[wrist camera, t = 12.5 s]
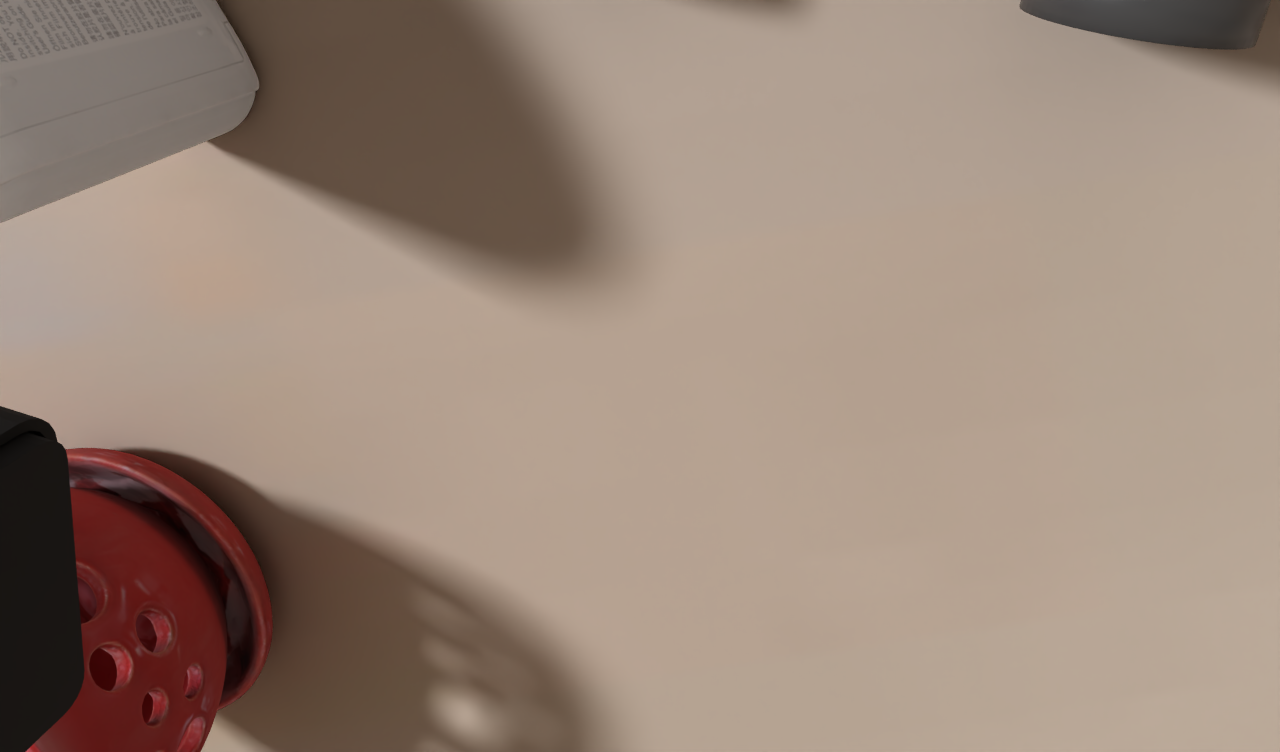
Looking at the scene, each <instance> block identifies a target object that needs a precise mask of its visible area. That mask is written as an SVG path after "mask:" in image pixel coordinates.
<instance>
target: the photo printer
mask: <svg viewBox="0 0 1280 752" xmlns="http://www.w3.org/2000/svg"><path fill="white" fill-rule="evenodd" d="M258 89H259V81H258V77H257V75H256V72H255V70H254V68H253V66H252V63H251V61H250V59H249V57H248V55H247V53H246V51H245V49H244V47H243V45H242V43H241V41H240V40H239V38H238V36H237V35H236V33H235V31H234V29H233V28H232V26H231V25H230V23H229V22H228V20H227V18H226V16H225V15H224V13H223V12H222V10H221V8H220V7H219V5H218V3H217V1H216V0H0V223H1V222H4V221H7V220H9V219H12V218H14V217H17V216H19V215H22V214H24V213H27V212H29V211H32V210H34V209H37V208H39V207H42V206H44V205H47V204H49V203H52V202H55V201H57V200H60V199H62V198H65V197H67V196H70V195H72V194H75V193H77V192H80V191H82V190H85V189H87V188H90V187H92V186H95V185H98V184H100V183H103V182H105V181H108V180H110V179H113V178H115V177H118V176H120V175H123V174H125V173H128V172H130V171H133V170H135V169H138V168H140V167H143V166H146V165H148V164H151V163H153V162H156V161H158V160H161V159H163V158H166V157H168V156H171V155H173V154H175V153H178V152H180V151H183V150H185V149H188V148H190V147H193V146H195V145H198V144H200V143H203V142H205V141H208V140H210V139H213V138H215V137H218V136H220V135H223V134H225V133H227V132H229V131H231V130H233V129H234V128H235V127H237V126H238V125H239V124H240V123H241V122H242V121H243V120H244V119H245V118H246V116H247V115H248V113H249V111H250V109H251V107H252V105H253V102H254V98H255V91H257V90H258Z"/></svg>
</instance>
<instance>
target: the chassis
mask: <svg viewBox="0 0 1280 752" xmlns="http://www.w3.org/2000/svg"><path fill="white" fill-rule="evenodd" d="M1270 1H1271V0H1021V2H1020V8H1021V9H1022V10H1023V11H1025V12H1026V13H1029V14H1031V15H1033V16H1036V17H1038V18H1041V19H1045V20H1048V21H1051V22H1054V23H1058V24H1062V25H1066V26H1069V27H1073V28H1078V29H1082V30H1086V31H1091V32H1096V33H1101V34H1106V35H1111V36H1116V37H1122V38H1127V39H1133V40H1140V41H1146V42H1153V43H1160V44H1167V45H1175V46H1184V47H1194V48H1207V49H1247V48H1251V47H1254V46H1255V44H1256V41H1257V39H1258V36H1259V33H1260V30H1261V27H1262V24H1263V21H1264V18H1265V15H1266V12H1267V10H1268V7H1269V4H1270Z"/></svg>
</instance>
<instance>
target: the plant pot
mask: <svg viewBox="0 0 1280 752" xmlns="http://www.w3.org/2000/svg"><path fill="white" fill-rule="evenodd" d="M66 453H67V457H68V467H69V479H70V492H71V504H72V517H73V530H74V542H75V555H76V568H77V580H78V593H79V605H80V618H81V631H82V643H83V656H84V668H85V672H84V681H83V684H82V688H81V690H80V692H79V695H78V697H77V699H76V700H75V702H74V703H73V705H72V706H71V708H70V709H69V710H68V711H67V712H66V713H65V715H64V716H63V717H61V718H60V719H59V720H58V721H57V722H56V723H55V724H54V725H53V726H52V727H51V728H50V729H49V730H48V731H47V732H46V733H45V734H44V735H42V736H41V737H40V738H39V739H38V740H37V741H36V742H35V743H34V744H33V745H32V746H31V747H30V748H29V749H28V750H27V751H26V752H200V751H201V749H202V747H203V745H204V743H205V741H206V739H207V736H208V734H209V732H210V729H211V727H212V724H213V721H214V718H215V715H216V712H217V710H220V709H222V708H224V707H226V706H227V705H229V704H231V703H233V702H234V701H236V700H237V699H239V698H240V697H241V696H242V695H243V694H245V693H246V692H247V691H248V690H249V689H250V687H251V686H252V685H253V684H254V682H255V681H256V679H257V678H258V676H259V674H260V672H261V670H262V668H263V666H264V664H265V662H266V659H267V656H268V653H269V650H270V645H271V640H272V629H273V622H272V609H271V602H270V598H269V593H268V589H267V586H266V582H265V580H264V577H263V574H262V571H261V569H260V566H259V564H258V562H257V560H256V558H255V556H254V554H253V552H252V550H251V549H250V547H249V545H248V544H247V542H246V541H245V539H244V537H243V536H242V534H241V533H240V531H239V530H238V529H237V528H236V526H235V525H234V524H233V522H232V521H231V520H230V519H229V518H228V516H227V515H226V514H225V513H224V512H223V511H222V510H221V509H220V508H219V507H218V506H217V505H216V504H215V503H214V502H213V501H212V500H211V499H210V498H208V497H207V496H206V495H205V494H204V493H203V492H202V491H200V490H199V489H198V488H196V487H195V486H194V485H192V484H191V483H189V482H188V481H187V480H185V479H184V478H182V477H180V476H179V475H177V474H176V473H174V472H172V471H170V470H169V469H167V468H165V467H163V466H161V465H158V464H156V463H154V462H152V461H150V460H147V459H144V458H141V457H138V456H135V455H133V454H129V453H124V452H120V451H115V450H109V449H98V448H77V449H66Z"/></svg>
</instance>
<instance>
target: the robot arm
mask: <svg viewBox="0 0 1280 752" xmlns="http://www.w3.org/2000/svg"><path fill="white" fill-rule="evenodd" d="M84 672H85V668H84V656H83V643H82V631H81V618H80V605H79V593H78V580H77V568H76V555H75V542H74V530H73V517H72V504H71V492H70V479H69V467H68V457H67V453H66V450H65V448H64V447H63V446H62V444H60V443H58V442H57V438H56V434H55V431H54V430H53V428H52V427H51V425H50V424H49V423H48V422H46V421H44V420H42V419H39V418H36V417H33V416H30V415H26V414H23V413H20V412H17V411H14V410H11V409H7V408H4V407H1V406H0V752H26V751H27V750H28V749H29V748H30V747H31V746H32V745H33V744H34V743H35V742H36V741H37V740H38V739H39V738H40V737H41V736H42V735H44V734H45V733H46V732H47V731H48V730H49V729H50V728H51V727H52V726H53V725H54V724H55V723H56V722H57V721H58V720H59V719H60V718H61V717H63V716H64V715H65V713H66V712H67V711H68V710H69V709H70V708H71V706H72V705H73V703H74V702H75V700H76V699H77V697H78V695H79V692H80V690H81V688H82V684H83V681H84Z"/></svg>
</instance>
